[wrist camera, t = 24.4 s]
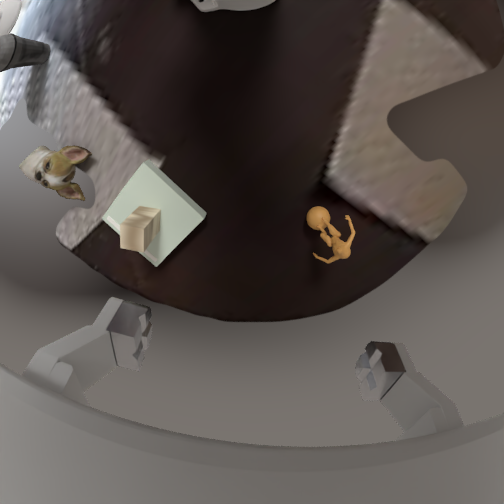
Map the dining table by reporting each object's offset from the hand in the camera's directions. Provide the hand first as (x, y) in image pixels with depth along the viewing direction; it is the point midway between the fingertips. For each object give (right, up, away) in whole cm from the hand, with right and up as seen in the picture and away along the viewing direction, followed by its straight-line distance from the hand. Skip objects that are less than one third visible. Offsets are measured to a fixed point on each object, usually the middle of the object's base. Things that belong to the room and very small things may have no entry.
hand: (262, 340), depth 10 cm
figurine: (+12, +9, +39) cm, 42 cm away
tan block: (-18, +9, +38) cm, 43 cm away
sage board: (-18, +10, +40) cm, 45 cm away
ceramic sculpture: (-37, +20, +35) cm, 55 cm away
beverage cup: (-41, +42, +23) cm, 63 cm away
